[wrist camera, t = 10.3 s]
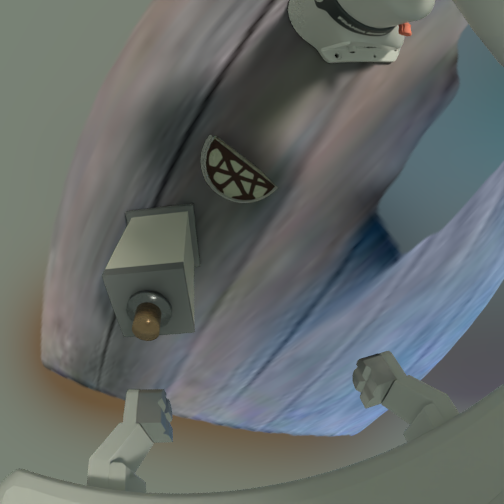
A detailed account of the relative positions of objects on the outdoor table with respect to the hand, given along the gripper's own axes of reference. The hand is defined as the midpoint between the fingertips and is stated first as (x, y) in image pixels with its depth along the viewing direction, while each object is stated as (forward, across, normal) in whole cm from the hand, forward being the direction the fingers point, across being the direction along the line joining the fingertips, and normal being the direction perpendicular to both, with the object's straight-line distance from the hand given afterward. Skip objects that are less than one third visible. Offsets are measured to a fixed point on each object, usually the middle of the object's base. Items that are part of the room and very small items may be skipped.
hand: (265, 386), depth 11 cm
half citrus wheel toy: (+41, -2, 0) cm, 41 cm away
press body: (+41, +10, +12) cm, 44 cm away
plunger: (+36, +10, +12) cm, 39 cm away
